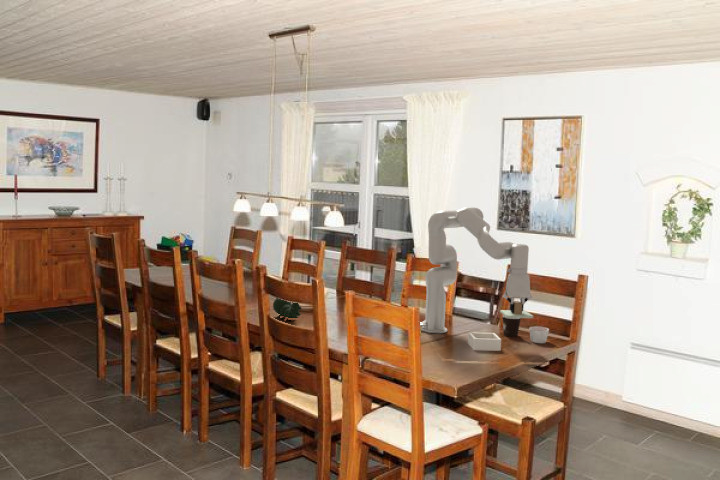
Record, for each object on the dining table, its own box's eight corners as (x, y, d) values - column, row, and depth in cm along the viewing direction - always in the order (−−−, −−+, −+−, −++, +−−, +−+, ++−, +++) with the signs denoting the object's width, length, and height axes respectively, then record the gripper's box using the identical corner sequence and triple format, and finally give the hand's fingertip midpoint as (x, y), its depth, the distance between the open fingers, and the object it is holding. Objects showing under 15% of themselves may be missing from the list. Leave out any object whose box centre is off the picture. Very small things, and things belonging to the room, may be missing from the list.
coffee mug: (519, 340, 325) (521, 319, 324) (501, 338, 327) (502, 318, 326) (519, 334, 337) (520, 314, 336) (501, 333, 339) (502, 313, 338)
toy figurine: (304, 326, 344) (283, 312, 364) (307, 290, 340) (285, 278, 361) (287, 328, 339) (266, 313, 359) (290, 291, 335) (269, 279, 356)
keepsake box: (473, 352, 300) (474, 338, 299) (467, 345, 312) (468, 332, 311) (500, 352, 300) (501, 339, 300) (493, 345, 312) (494, 332, 312)
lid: (506, 317, 300) (507, 304, 299) (499, 312, 312) (500, 299, 311) (533, 318, 301) (534, 304, 300) (525, 312, 312) (526, 299, 312)
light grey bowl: (552, 343, 321) (553, 330, 321) (536, 344, 318) (537, 331, 317) (540, 338, 330) (541, 326, 329) (524, 340, 326) (525, 327, 325)
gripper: (502, 272, 300) (500, 313, 302) (539, 273, 301) (536, 314, 303) (498, 270, 308) (496, 310, 309) (534, 271, 308) (531, 311, 310)
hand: (516, 312), depth 306 cm, fingers closed on lid, 3 cm apart
